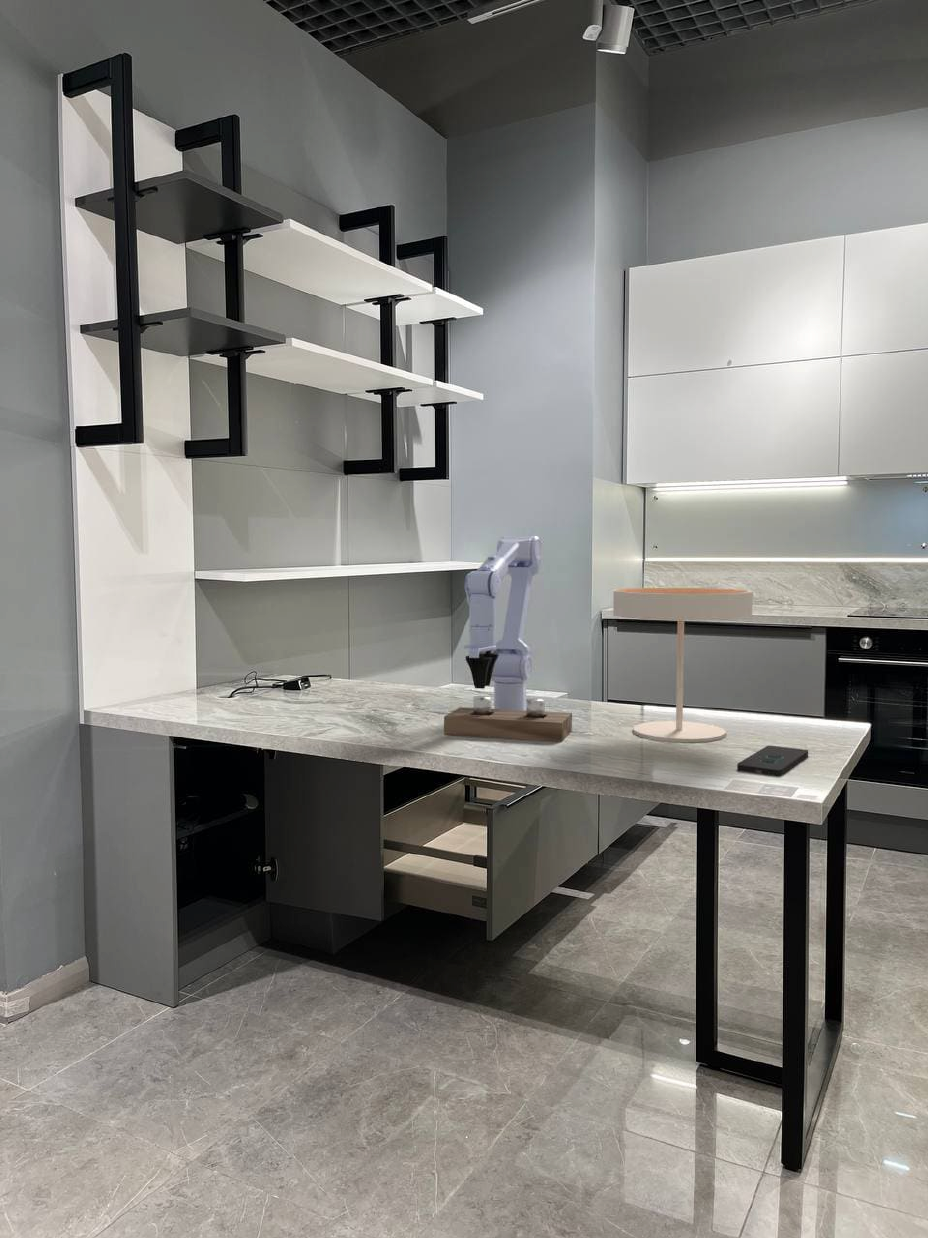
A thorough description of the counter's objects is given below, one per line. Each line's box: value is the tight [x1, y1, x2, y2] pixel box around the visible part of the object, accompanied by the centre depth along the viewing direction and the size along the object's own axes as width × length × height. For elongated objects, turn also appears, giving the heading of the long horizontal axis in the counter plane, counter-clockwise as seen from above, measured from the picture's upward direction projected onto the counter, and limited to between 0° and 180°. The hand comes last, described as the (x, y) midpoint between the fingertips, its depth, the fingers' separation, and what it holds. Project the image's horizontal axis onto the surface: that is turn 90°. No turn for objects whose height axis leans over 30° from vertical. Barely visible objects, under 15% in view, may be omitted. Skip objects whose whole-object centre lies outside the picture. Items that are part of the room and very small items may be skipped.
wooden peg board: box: [443, 706, 573, 742], centre depth 207 cm, size 12×26×4 cm, turn 74°
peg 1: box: [472, 695, 492, 716], centre depth 208 cm, size 4×4×4 cm
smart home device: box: [736, 745, 809, 777], centre depth 178 cm, size 8×2×20 cm
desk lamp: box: [612, 587, 754, 743], centre depth 205 cm, size 30×30×31 cm
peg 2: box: [526, 697, 546, 718], centre depth 205 cm, size 4×4×4 cm
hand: (482, 686), depth 208 cm, fingers open, 4 cm apart
